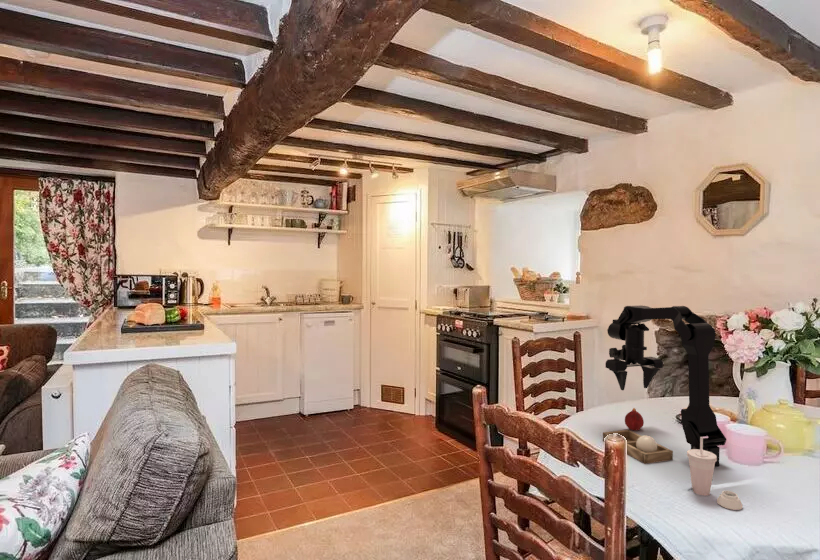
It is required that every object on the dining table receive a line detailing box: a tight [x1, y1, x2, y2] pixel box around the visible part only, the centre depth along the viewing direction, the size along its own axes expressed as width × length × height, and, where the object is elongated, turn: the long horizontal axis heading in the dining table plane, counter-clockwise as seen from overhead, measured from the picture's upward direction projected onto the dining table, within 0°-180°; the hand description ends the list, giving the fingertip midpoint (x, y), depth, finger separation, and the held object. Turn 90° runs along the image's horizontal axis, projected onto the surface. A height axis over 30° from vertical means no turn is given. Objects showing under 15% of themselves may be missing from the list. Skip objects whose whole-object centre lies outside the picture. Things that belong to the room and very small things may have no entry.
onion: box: [624, 407, 645, 432], centre depth 162 cm, size 6×6×8 cm
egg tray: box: [602, 429, 674, 464], centre depth 145 cm, size 18×10×4 cm, turn 15°
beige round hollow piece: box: [716, 490, 743, 511], centre depth 113 cm, size 5×3×5 cm
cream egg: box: [636, 435, 658, 453], centre depth 140 cm, size 6×6×6 cm
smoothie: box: [686, 437, 717, 497], centre depth 120 cm, size 6×6×14 cm
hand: (633, 389), depth 162 cm, fingers open, 9 cm apart
